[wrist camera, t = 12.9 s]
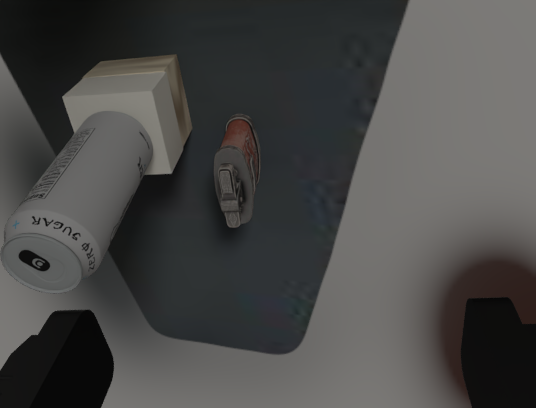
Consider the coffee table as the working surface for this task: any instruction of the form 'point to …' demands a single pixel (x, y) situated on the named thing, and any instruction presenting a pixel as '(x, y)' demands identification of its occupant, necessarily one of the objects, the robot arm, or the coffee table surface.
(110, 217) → the energy drink can
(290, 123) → the coffee table surface
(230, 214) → the lighter
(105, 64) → the birch block
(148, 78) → the cream block
